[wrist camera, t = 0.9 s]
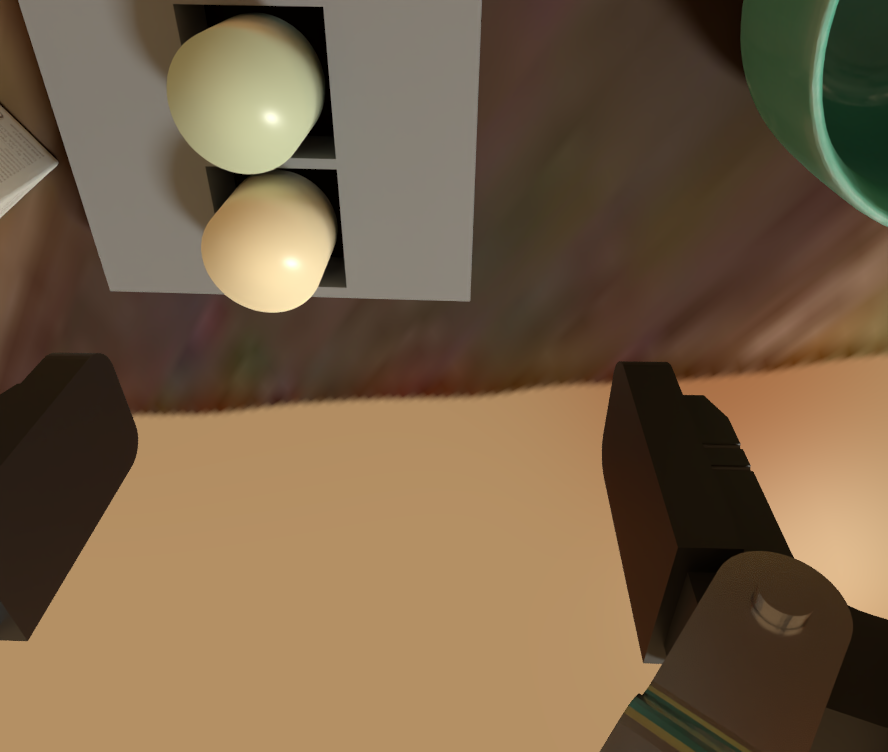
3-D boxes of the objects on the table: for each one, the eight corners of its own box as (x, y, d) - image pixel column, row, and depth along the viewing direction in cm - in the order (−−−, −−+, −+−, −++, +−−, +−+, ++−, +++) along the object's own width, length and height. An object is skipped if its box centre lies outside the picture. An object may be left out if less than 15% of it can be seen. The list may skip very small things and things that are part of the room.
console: (2, -222, 22) (-58, -237, 19) (488, -218, 21) (490, -233, 19) (138, 260, 32) (110, 291, 30) (470, 270, 32) (469, 301, 29)
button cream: (219, 168, 27) (189, 199, 24) (333, 170, 27) (316, 203, 24) (238, 271, 30) (213, 310, 27) (342, 273, 29) (327, 314, 27)
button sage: (190, 11, 24) (151, 26, 21) (319, 13, 23) (297, 29, 21) (214, 143, 26) (183, 172, 23) (330, 145, 26) (313, 176, 23)
